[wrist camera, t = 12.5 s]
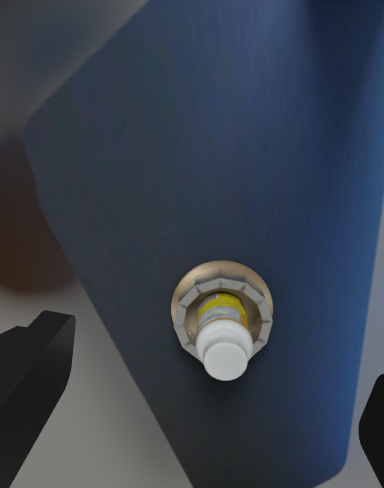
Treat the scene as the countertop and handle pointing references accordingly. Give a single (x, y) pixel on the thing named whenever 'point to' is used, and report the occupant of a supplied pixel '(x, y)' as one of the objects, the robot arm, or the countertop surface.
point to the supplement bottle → (223, 335)
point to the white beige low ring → (224, 280)
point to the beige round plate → (248, 303)
